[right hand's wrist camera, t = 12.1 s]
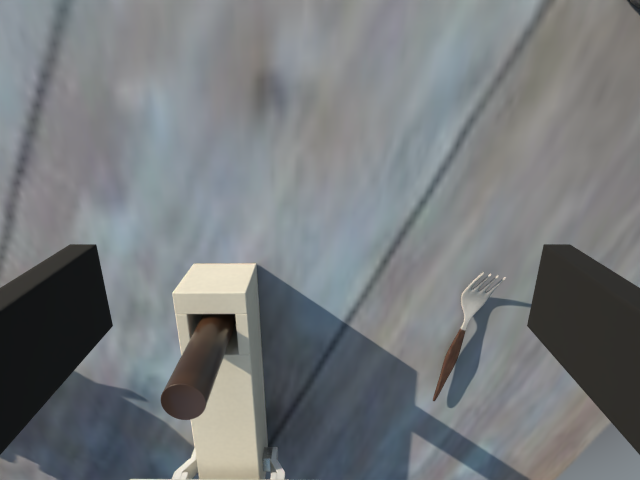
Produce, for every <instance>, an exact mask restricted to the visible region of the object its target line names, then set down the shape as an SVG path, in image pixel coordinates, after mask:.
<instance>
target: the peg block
mask: <svg viewBox="0 0 640 480" xmlns="http://www.w3.org/2000/svg"><path fill="white" fill-rule="evenodd" d="M257 282H258V281H257V265H256V264H193V265H192V267H191V268H190V270H189V271H188V272H187V274H186V275H185V276H184V278H183V279H182V281H181V282H180V283H179V285H178V286H177V287H176V289H175V290H174V292H173V293H172V294H173V301H174V308H175V314H176V321H177V328H178V335H179V342H180V349H181V354H183V352H184V350H185V348H186V346H187V344H188V342H189V341H190V339H191V337H192V335H193V333H194V331H195V329H196V327H197V325H198V323H199V321H200V319H201V317H202V315H203V314H235V315H236V324H235V327H234V330H233V333H232V335H231V338H230V341H229V344H228V347H227V349H226V352H225V355H224V358H223V361H222V363H221V366H220V369H219V372H218V375H217V377H216V380H215V383H214V386H213V389H212V391H211V394H210V397H209V400H208V403H207V405H206V408H205V410H204V412H203V413H202V414H201V415H200V416H199V417H197V418H194V419H191V424H192V431H193V438H194V445H195V452H196V459H197V466H198V473H199V479H265V475H266V471H263V461H262V458H263V453H264V447H268V439H267V423H266V407H265V391H264V376H263V360H262V344H261V328H260V312H259V296H258V283H257Z"/></svg>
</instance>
